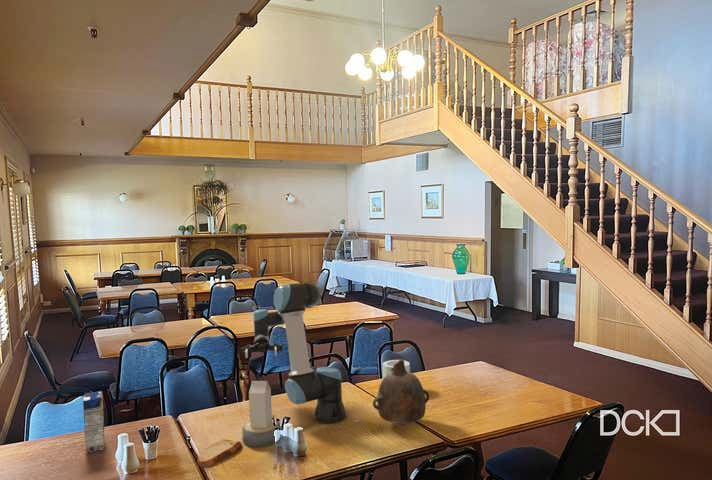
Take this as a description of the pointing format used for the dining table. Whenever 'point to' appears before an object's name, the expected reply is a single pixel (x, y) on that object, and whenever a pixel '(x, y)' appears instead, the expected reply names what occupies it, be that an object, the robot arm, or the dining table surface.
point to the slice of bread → (217, 452)
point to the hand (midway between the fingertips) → (261, 353)
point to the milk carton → (260, 404)
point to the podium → (259, 435)
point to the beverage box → (94, 421)
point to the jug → (401, 396)
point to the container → (390, 364)
